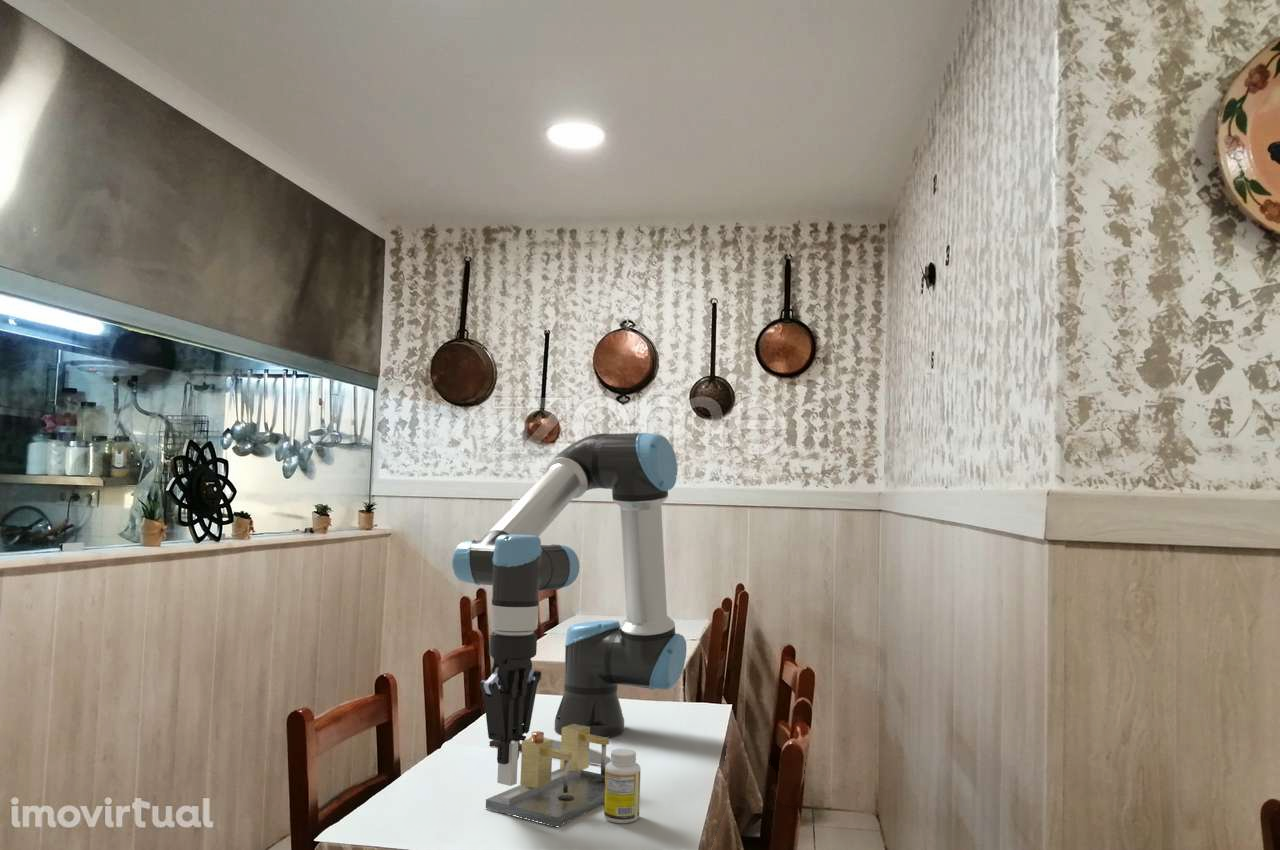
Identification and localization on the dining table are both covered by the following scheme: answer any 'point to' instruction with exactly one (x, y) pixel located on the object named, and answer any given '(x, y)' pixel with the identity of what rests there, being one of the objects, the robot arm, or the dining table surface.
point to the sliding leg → (541, 762)
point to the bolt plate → (553, 798)
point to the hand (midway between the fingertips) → (507, 783)
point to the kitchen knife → (593, 754)
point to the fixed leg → (581, 747)
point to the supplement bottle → (622, 787)
